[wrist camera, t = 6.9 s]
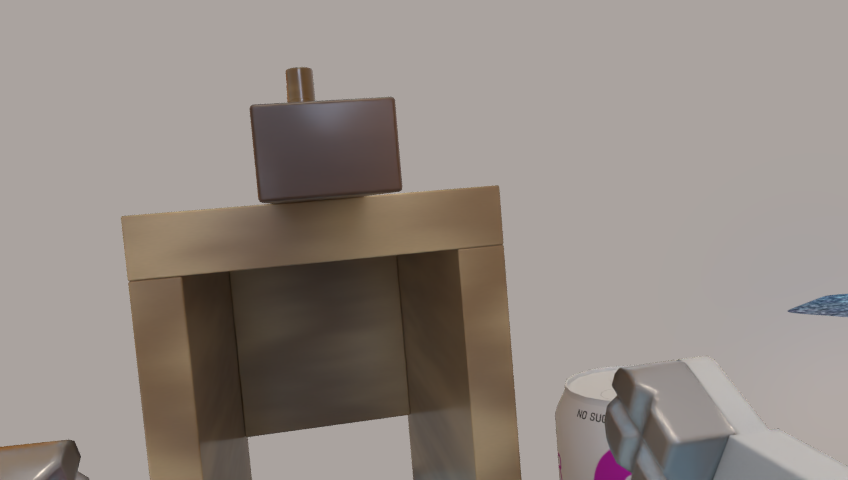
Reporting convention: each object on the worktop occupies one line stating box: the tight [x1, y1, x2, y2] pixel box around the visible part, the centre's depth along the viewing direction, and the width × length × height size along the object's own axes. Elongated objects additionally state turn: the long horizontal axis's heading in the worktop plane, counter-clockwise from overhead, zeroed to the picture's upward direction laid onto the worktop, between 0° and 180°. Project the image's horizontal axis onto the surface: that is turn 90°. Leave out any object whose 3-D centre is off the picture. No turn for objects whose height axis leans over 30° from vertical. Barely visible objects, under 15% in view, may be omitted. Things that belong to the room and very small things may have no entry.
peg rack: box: [250, 67, 402, 204], centre depth 28 cm, size 3×28×6 cm, turn 11°
